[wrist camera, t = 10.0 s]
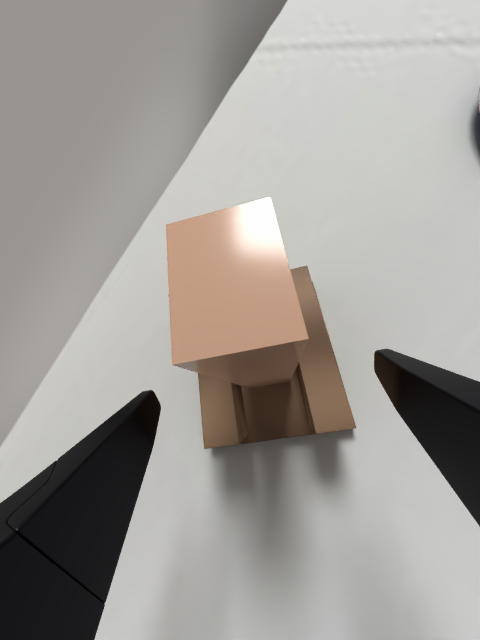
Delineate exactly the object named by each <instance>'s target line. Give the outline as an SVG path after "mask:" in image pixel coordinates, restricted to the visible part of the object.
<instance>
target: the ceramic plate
mask: <svg viewBox="0 0 480 640" xmlns="http://www.w3.org/2000/svg"><path fill="white" fill-rule="evenodd" d="M478 105H479V111H480V88H479V95H478Z"/></svg>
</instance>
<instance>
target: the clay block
mask: <svg viewBox="0 0 480 640" xmlns="http://www.w3.org/2000/svg"><path fill="white" fill-rule="evenodd" d="M166 238H167V260H168V282H169V305H170V327H171V350H172V365H174V366H178V367H181V368H184V369H187V370H191V371H194V372H197V373H201V374H204V375H207V376H211V377H214V378H217V379H220V380H224V381H227V382H230V383H234V384H237V385H240V386H244V387H247V388H255V387H261V386H267V385H273V384H278V383H284V382H290V381H291V379H292V377H293V374H294V372H295V370H296V367H297V365H298V363H299V360H300V358H301V356H302V353H303V351H304V349H305V346H306V344H307V342H308V340H309V338H308V334H307V330H306V326H305V323H304V319H303V315H302V312H301V308H300V304H299V301H298V297H297V293H296V290H295V286H294V282H293V278H292V275H291V271H290V267H289V264H288V260H287V256H286V253H285V249H284V245H283V242H282V238H281V234H280V230H279V227H278V223H277V219H276V216H275V212H274V208H273V205H272V201H271V197H267V198H263V199H260V200H256V201H252V202H249V203H245V204H241V205H237V206H234V207H230V208H226V209H223V210H219V211H215V212H212V213H208V214H204V215H200V216H197V217H193V218H189V219H186V220H182V221H178V222H174V223H171V224H167V225H166Z"/></svg>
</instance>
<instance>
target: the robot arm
mask: <svg viewBox="0 0 480 640" xmlns="http://www.w3.org/2000/svg"><path fill="white" fill-rule="evenodd" d="M374 370H375V373H376V375H377V377H378V379H379V381H380V382H381V384H382V386H383V388H384V389H385V391H386V393H387V395H388V396H389V398H390V400H391V402H392V403H393V405H394V407H395V408H396V410H397V412H398V413H399V415H400V416H401V417H402V419H403V420H404V422H405V423H406V424H407V426H408V427H409V429H410V430H411V431H412V433H413V434H414V436H415V437H416V438H417V440H418V441H419V442H420V444H421V445H422V447H423V448H424V449H425V451H426V452H427V454H428V455H429V456H430V458H431V459H432V461H433V462H434V463H435V465H436V466H437V468H438V469H439V470H440V472H441V473H442V475H443V476H444V477H445V479H446V480H447V481H448V483H449V484H450V486H451V487H452V488H453V490H454V491H455V493H456V494H457V495H458V497H459V498H460V500H461V501H462V502H463V504H464V505H465V507H466V508H467V509H468V511H469V512H470V513H471V515H472V516H473V518H474V519H475V520H476V522H477V523H478V525H479V526H480V382H478V381H476V380H473V379H470V378H467V377H465V376H462V375H459V374H456V373H453V372H451V371H448V370H445V369H442V368H440V367H437V366H434V365H431V364H429V363H426V362H423V361H420V360H417V359H415V358H412V357H409V356H406V355H404V354H401V353H398V352H395V351H393V350H390V349H382V350H377V351H375V354H374ZM160 411H161V406H160V403H159V401H158V399H157V397H156V395H155V393H154V391H152V390H149V391H143V392H141V393H140V394H139V395H138V396H136V397H135V398H134V399H133V400H131V401H130V402H129V403H128V404H126V405H125V406H124V407H123V408H121V409H120V410H119V411H118V412H116V413H115V414H114V415H112V416H111V417H110V418H109V419H107V420H106V421H105V422H104V423H102V424H101V425H100V426H99V427H97V428H96V429H95V430H94V431H92V432H91V433H90V434H89V435H87V436H86V437H85V438H84V439H82V440H81V441H80V442H79V443H77V444H76V445H75V446H74V447H72V448H71V449H70V450H69V451H67V452H66V453H65V454H64V455H62V456H61V457H60V458H59V459H58V460H57V461H55V462H53V463H52V464H51V465H50V466H48V467H47V468H46V469H45V470H43V471H42V472H41V473H40V474H38V475H37V476H36V477H34V478H33V479H32V480H31V481H29V482H28V483H27V484H25V485H24V486H23V487H21V488H20V489H19V490H17V491H16V492H15V493H13V494H12V495H11V496H9V497H8V498H7V499H5V500H4V501H3V502H1V503H0V640H94V639H95V635H96V632H97V629H98V626H99V622H100V619H101V616H102V613H103V609H104V606H105V604H104V603H105V602H106V599H107V596H108V592H109V589H110V586H111V583H112V579H113V576H114V573H115V570H116V566H117V563H118V560H119V556H120V553H121V550H122V547H123V543H124V540H125V537H126V534H127V530H128V527H129V524H130V521H131V517H132V514H133V511H134V508H135V504H136V501H137V498H138V494H139V491H140V488H141V485H142V481H143V478H144V475H145V472H146V468H147V465H148V462H149V459H150V455H151V452H152V448H153V445H154V440H155V436H156V431H157V426H158V421H159V416H160Z"/></svg>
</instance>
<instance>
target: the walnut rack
mask: <svg viewBox="0 0 480 640" xmlns="http://www.w3.org/2000/svg"><path fill="white" fill-rule="evenodd" d="M290 271H291V275H292V278H293V282H294V286H295V290H296V293H297V297H298V301H299V304H300V308H301V312H302V315H303V319H304V323H305V326H306V330H307V334H308V338H309V340H308V342H307V344H306V346H305V349H304V351H303V353H302V356H301V358H300V360H299V363H298V365H297V367H296V370H295V372H294V374H293V377H292V379H291V381H290V382H284V383H278V384H273V385H267V386H261V387H255V388H247V387H244V386H240V385H237V384H234V383H230V382H227V381H224V380H220V379H217V378H214V377H211V376H207V375H204V374H201V373H198V378H199V390H200V403H201V415H202V428H203V440H204V449H208V448H215V447H222V446H230V445H237V444H244V443H251V442H258V441H266V440H273V439H280V438H287V437H295V436H302V435H309V434H317V433H324V432H332V431H339V430H346V429H354V428H356V426H355V422H354V419H353V416H352V412H351V409H350V405H349V402H348V399H347V395H346V392H345V389H344V385H343V382H342V379H341V375H340V372H339V369H338V365H337V362H336V359H335V355H334V352H333V349H332V345H331V342H330V339H329V335H328V332H327V329H326V325H325V322H324V319H323V315H322V312H321V309H320V305H319V302H318V299H317V295H316V292H315V289H314V285H313V282H312V281H311V277H310V274H309V271H308V267H307V266H304V267H299V268H295V269H290Z"/></svg>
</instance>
